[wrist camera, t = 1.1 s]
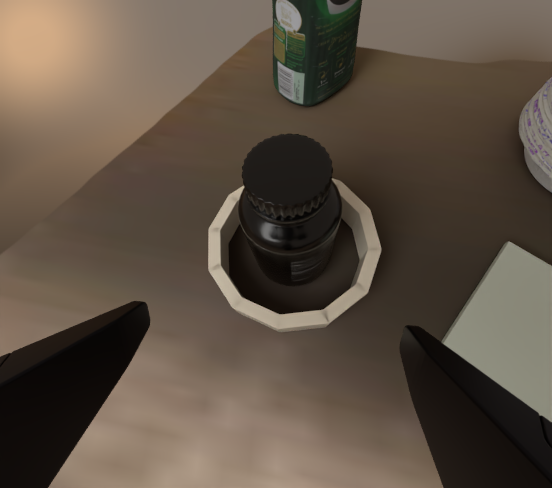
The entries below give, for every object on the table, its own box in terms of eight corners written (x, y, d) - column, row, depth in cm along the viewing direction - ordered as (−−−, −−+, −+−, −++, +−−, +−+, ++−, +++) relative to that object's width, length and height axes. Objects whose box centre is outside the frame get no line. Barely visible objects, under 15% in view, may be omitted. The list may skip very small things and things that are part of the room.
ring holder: (274, 367, 21) (271, 369, 18) (192, 239, 26) (179, 225, 23) (402, 265, 23) (416, 253, 20) (304, 167, 28) (305, 147, 25)
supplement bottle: (330, 223, 25) (357, 121, 14) (326, 292, 23) (355, 233, 12) (261, 217, 26) (236, 116, 15) (250, 283, 23) (209, 220, 12)
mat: (610, 487, 16) (619, 491, 16) (435, 350, 20) (438, 350, 20) (666, 338, 19) (675, 338, 19) (504, 243, 23) (509, 241, 23)
